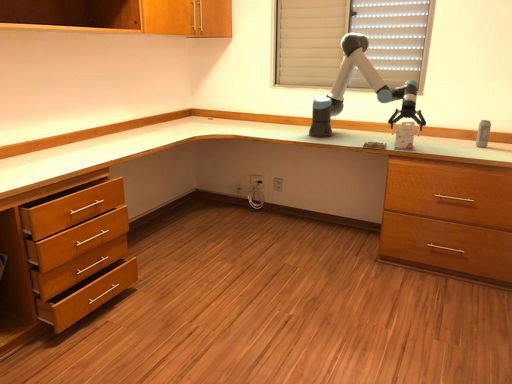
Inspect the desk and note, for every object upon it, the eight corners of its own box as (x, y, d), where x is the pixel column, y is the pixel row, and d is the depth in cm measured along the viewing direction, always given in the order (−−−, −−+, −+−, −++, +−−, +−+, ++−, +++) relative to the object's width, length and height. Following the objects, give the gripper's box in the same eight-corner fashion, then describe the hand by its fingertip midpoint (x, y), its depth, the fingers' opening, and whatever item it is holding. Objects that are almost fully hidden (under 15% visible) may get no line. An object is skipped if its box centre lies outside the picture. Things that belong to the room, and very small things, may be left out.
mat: (394, 149, 238) (394, 148, 238) (395, 145, 249) (395, 144, 249) (413, 150, 235) (413, 150, 235) (413, 146, 246) (413, 145, 246)
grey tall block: (485, 145, 248) (490, 120, 243) (488, 148, 242) (492, 121, 238) (474, 145, 249) (478, 119, 245) (476, 147, 244) (481, 121, 239)
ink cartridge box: (408, 145, 245) (411, 120, 240) (412, 147, 240) (416, 121, 236) (394, 146, 243) (397, 120, 239) (398, 148, 239) (401, 122, 234)
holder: (362, 147, 242) (363, 143, 241) (365, 143, 254) (365, 139, 253) (385, 149, 238) (385, 144, 237) (386, 144, 250) (386, 140, 249)
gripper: (431, 109, 245) (428, 139, 237) (386, 107, 253) (382, 136, 244) (433, 100, 239) (430, 131, 230) (386, 98, 247) (382, 128, 238)
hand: (405, 134), depth 237 cm, fingers open, 13 cm apart
